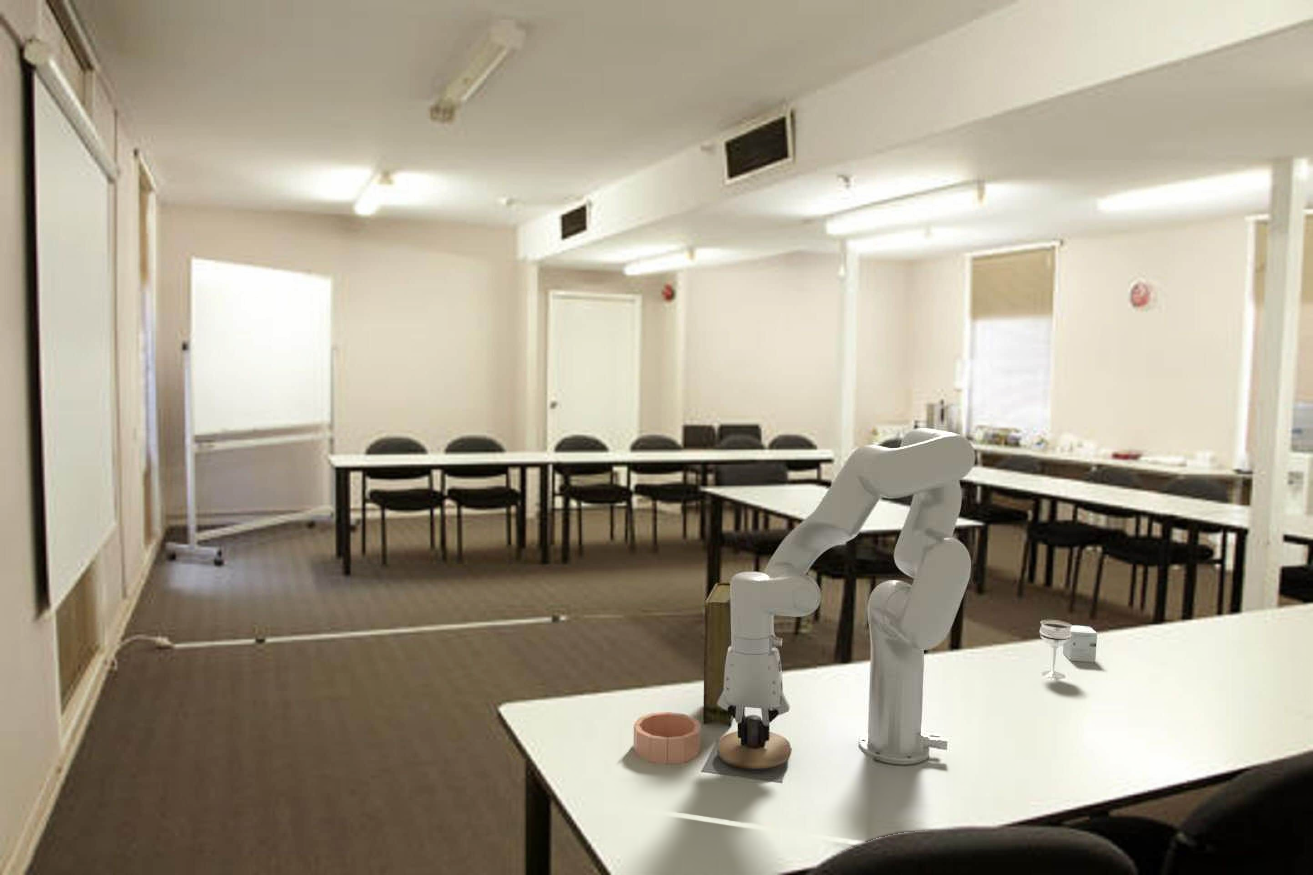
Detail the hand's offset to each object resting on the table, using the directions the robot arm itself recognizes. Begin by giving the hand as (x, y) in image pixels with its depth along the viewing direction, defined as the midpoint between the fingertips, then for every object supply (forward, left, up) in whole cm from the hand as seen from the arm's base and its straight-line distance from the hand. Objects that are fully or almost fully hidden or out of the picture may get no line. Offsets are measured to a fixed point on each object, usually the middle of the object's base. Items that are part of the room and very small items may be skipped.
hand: (753, 741), depth 159 cm
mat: (+1, 0, -4) cm, 4 cm away
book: (+10, -21, -4) cm, 23 cm away
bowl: (+16, 0, -4) cm, 16 cm away
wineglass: (-59, -66, -4) cm, 88 cm away
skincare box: (-67, -81, -4) cm, 105 cm away
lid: (0, 0, -2) cm, 2 cm away
